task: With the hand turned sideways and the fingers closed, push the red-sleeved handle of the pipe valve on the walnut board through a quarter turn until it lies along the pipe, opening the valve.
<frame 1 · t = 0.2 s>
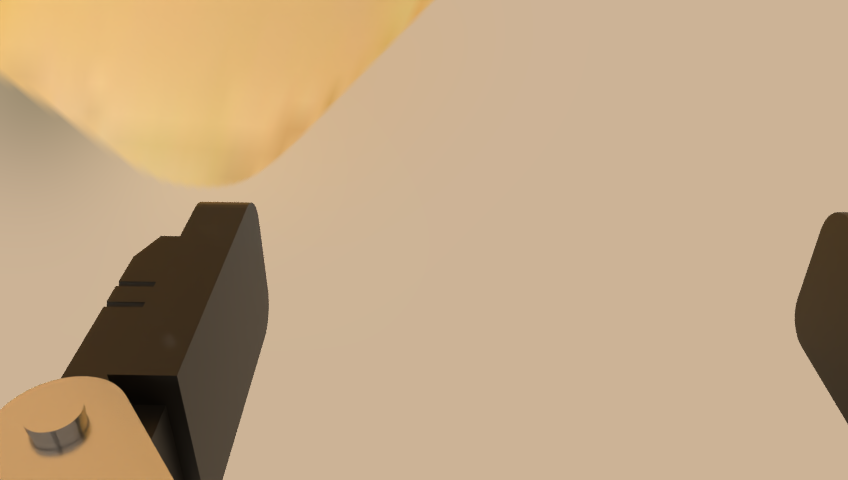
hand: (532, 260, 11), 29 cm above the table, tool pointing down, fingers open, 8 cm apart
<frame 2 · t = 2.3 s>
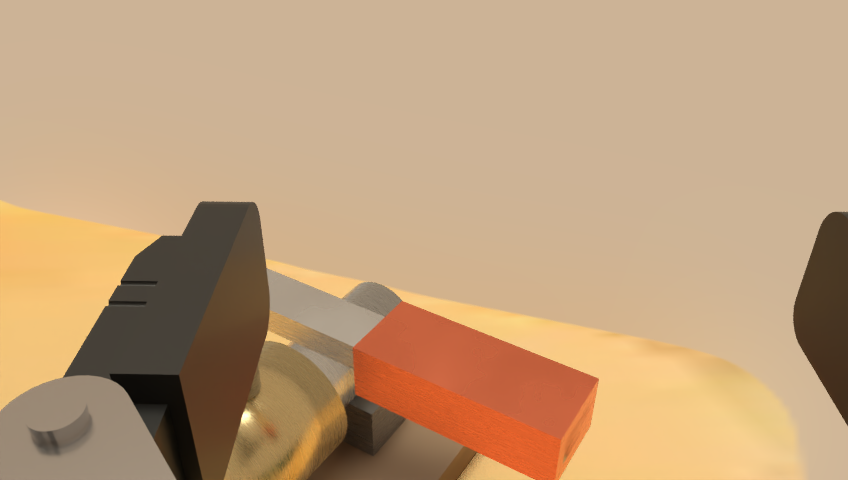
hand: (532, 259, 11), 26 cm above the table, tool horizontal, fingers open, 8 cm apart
valve lever: (359, 338, 26), point 15 cm above the table, hinge at 0.0°
pipe valve: (246, 420, 33), on the base board, point 8 cm above the table
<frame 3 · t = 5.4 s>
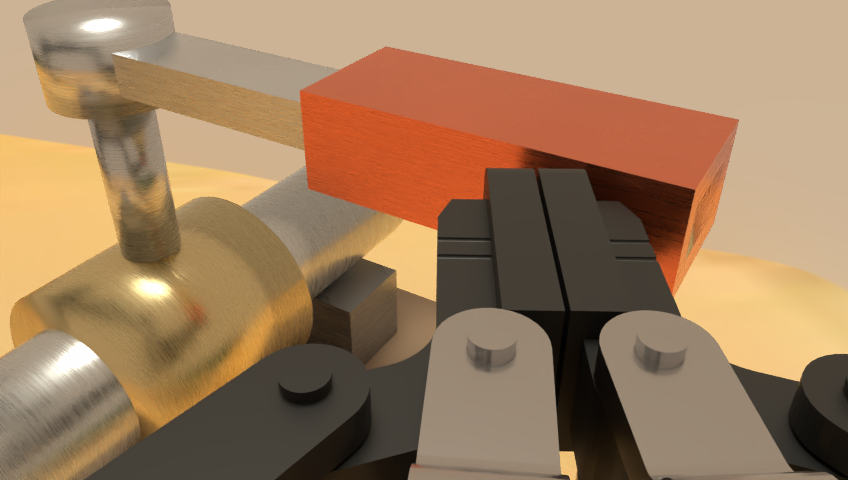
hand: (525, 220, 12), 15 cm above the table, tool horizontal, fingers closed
valve lever: (316, 107, 16), point 16 cm above the table, hinge at 0.0°, touching gripper
pipe valve: (163, 301, 22), on the base board, point 8 cm above the table
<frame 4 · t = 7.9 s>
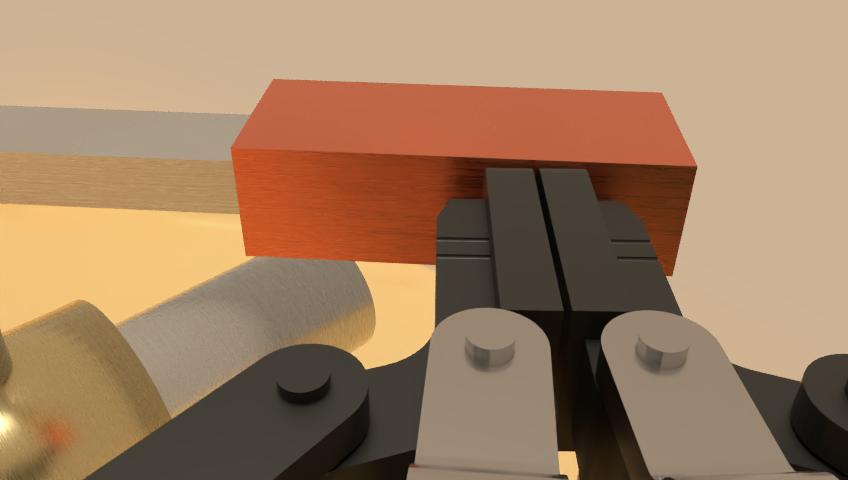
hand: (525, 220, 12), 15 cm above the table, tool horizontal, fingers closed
valve lever: (215, 161, 13), point 16 cm above the table, hinge at 40.5°, touching gripper
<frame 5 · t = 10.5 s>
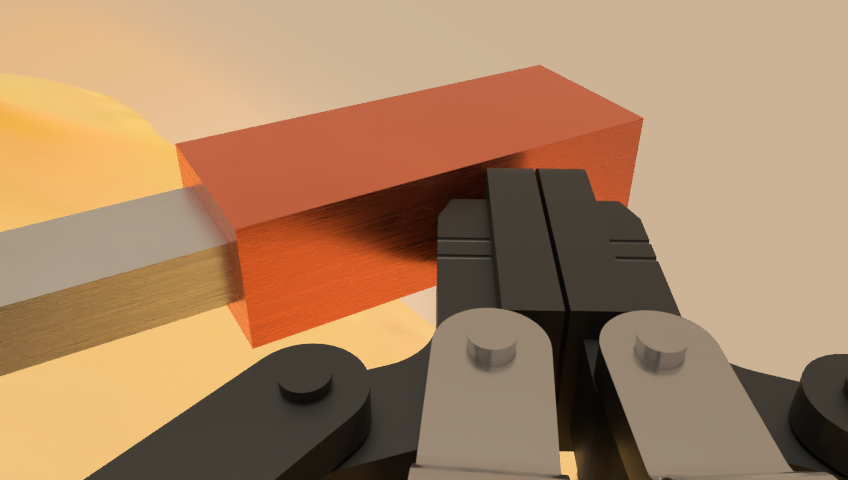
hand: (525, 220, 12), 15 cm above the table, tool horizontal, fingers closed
valve lever: (157, 257, 11), point 15 cm above the table, hinge at 90.5°, touching gripper
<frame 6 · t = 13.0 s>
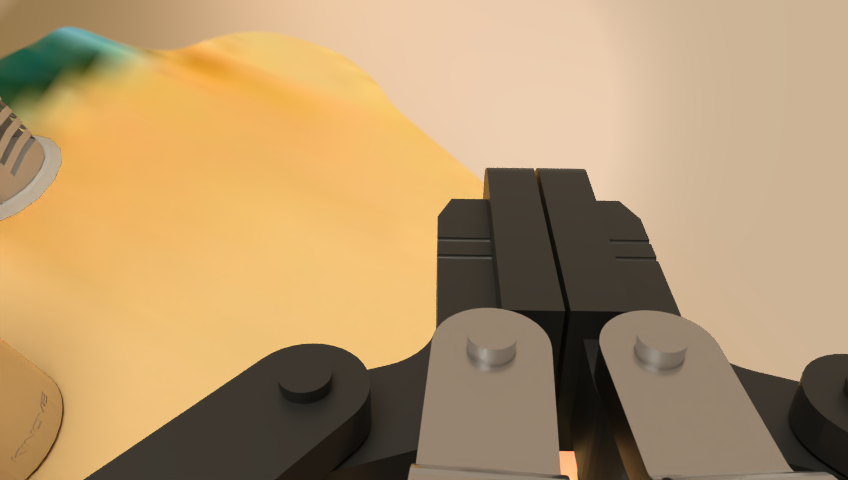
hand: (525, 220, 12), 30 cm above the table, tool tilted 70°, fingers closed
french press: (5, 187, 63), on the table
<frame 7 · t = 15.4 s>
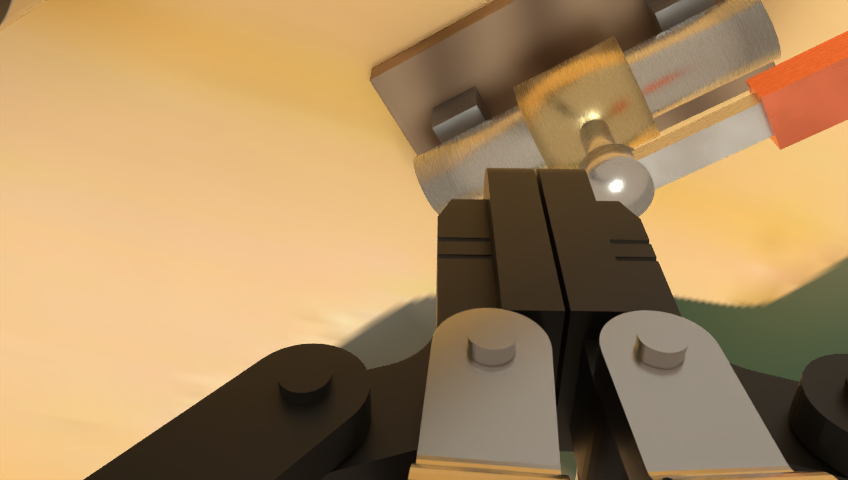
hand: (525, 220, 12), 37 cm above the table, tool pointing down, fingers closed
valve lever: (745, 123, 34), point 15 cm above the table, hinge at 90.5°
base board: (568, 66, 49), on the table
pipe valve: (588, 118, 42), on the base board, point 8 cm above the table
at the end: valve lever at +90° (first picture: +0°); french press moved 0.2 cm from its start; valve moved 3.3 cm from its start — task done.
